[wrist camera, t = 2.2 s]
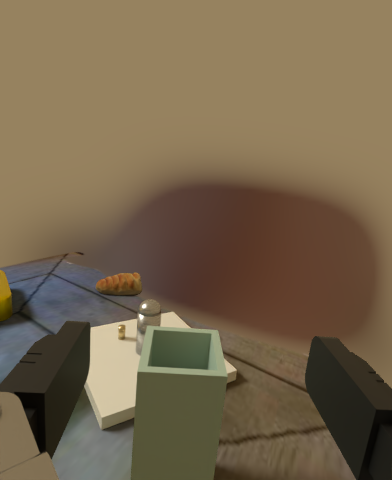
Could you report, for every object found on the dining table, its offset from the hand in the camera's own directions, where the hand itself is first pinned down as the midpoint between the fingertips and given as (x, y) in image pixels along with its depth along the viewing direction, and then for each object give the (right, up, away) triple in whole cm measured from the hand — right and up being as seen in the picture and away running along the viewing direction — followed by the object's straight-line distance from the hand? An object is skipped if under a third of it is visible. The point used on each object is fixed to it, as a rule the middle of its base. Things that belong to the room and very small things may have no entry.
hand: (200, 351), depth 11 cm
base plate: (-7, -13, +33) cm, 36 cm away
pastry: (-16, -7, +56) cm, 59 cm away
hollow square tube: (-3, -18, +16) cm, 24 cm away
